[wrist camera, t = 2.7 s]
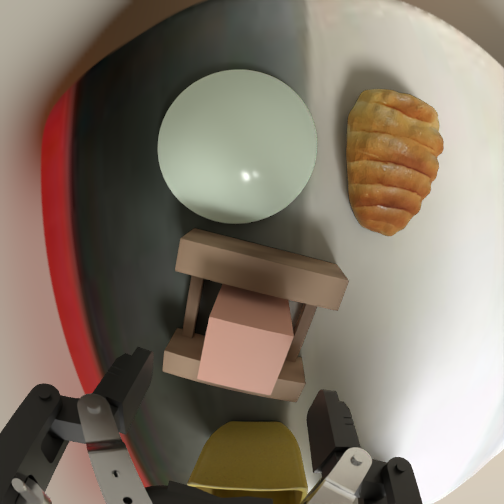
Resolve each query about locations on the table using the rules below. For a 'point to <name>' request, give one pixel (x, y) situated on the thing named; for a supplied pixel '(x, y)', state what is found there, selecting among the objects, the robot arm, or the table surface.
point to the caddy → (258, 280)
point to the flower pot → (252, 463)
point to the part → (246, 340)
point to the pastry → (390, 158)
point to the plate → (237, 146)
